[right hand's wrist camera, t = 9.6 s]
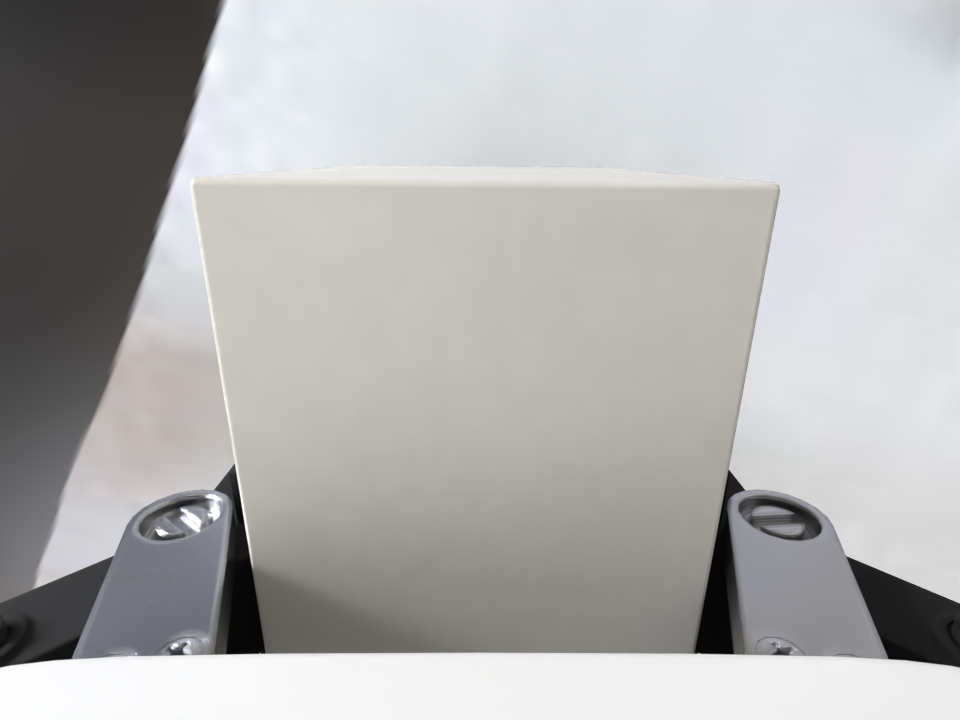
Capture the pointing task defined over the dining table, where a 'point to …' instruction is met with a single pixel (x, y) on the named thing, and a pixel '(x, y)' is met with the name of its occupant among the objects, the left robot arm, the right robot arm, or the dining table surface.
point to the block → (482, 398)
